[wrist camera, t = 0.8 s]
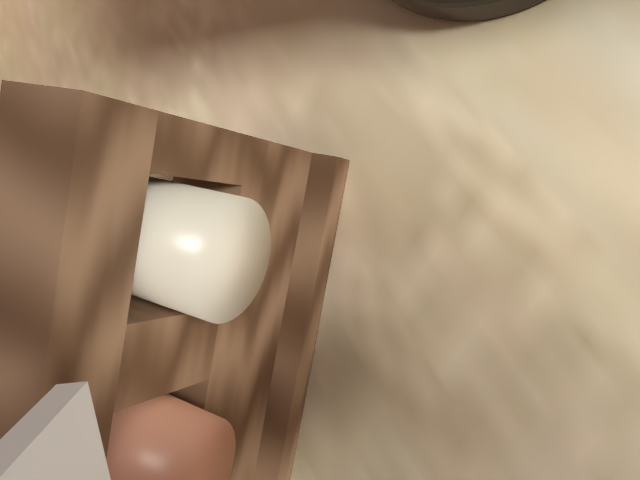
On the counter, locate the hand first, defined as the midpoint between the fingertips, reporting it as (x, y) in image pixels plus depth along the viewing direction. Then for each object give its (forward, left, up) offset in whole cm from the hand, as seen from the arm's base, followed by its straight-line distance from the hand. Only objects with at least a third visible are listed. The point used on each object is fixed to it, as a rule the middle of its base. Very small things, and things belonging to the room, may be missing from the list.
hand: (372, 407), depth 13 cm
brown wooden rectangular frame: (+8, -13, -16) cm, 22 cm away
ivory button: (-1, -13, -8) cm, 16 cm away
